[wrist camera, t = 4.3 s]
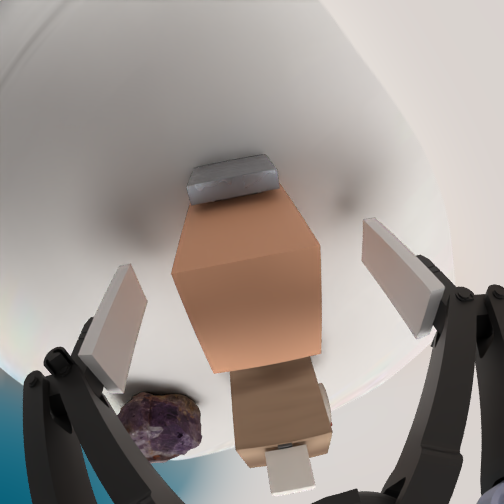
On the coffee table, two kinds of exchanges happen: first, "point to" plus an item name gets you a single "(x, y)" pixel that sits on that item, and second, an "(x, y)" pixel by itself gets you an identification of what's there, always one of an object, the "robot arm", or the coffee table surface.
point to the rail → (232, 179)
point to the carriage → (250, 281)
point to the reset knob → (289, 470)
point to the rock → (162, 425)
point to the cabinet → (279, 410)
